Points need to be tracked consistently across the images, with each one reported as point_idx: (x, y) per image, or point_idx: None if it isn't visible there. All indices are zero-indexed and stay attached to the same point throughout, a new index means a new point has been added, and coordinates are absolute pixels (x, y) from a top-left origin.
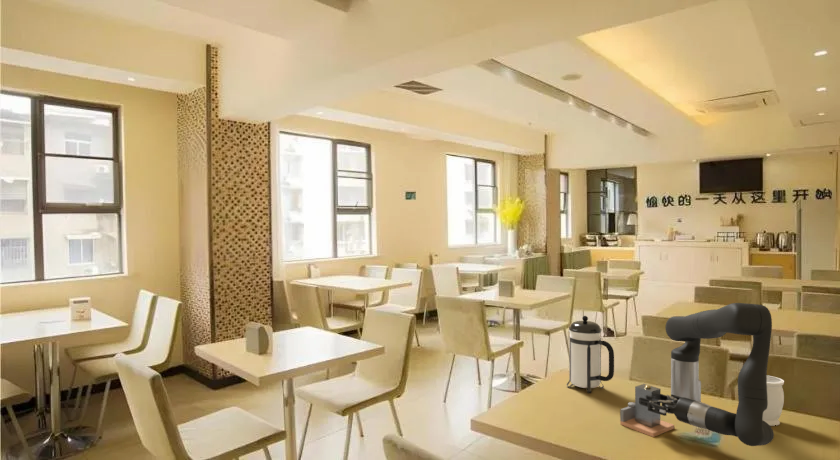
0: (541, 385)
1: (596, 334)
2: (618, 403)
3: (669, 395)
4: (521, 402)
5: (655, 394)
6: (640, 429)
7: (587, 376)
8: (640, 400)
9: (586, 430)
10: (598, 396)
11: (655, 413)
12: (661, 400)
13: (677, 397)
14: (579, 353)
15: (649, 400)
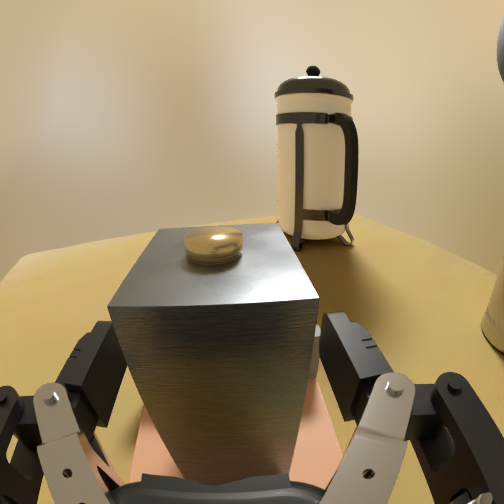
0: (235, 221)
1: (322, 97)
2: (321, 293)
3: (415, 388)
4: (125, 243)
5: (199, 351)
6: (135, 461)
7: (295, 207)
8: (84, 342)
9: (40, 348)
10: (302, 261)
11: (225, 458)
12: (78, 471)
13: (468, 448)
14: (282, 148)
15: (70, 381)
